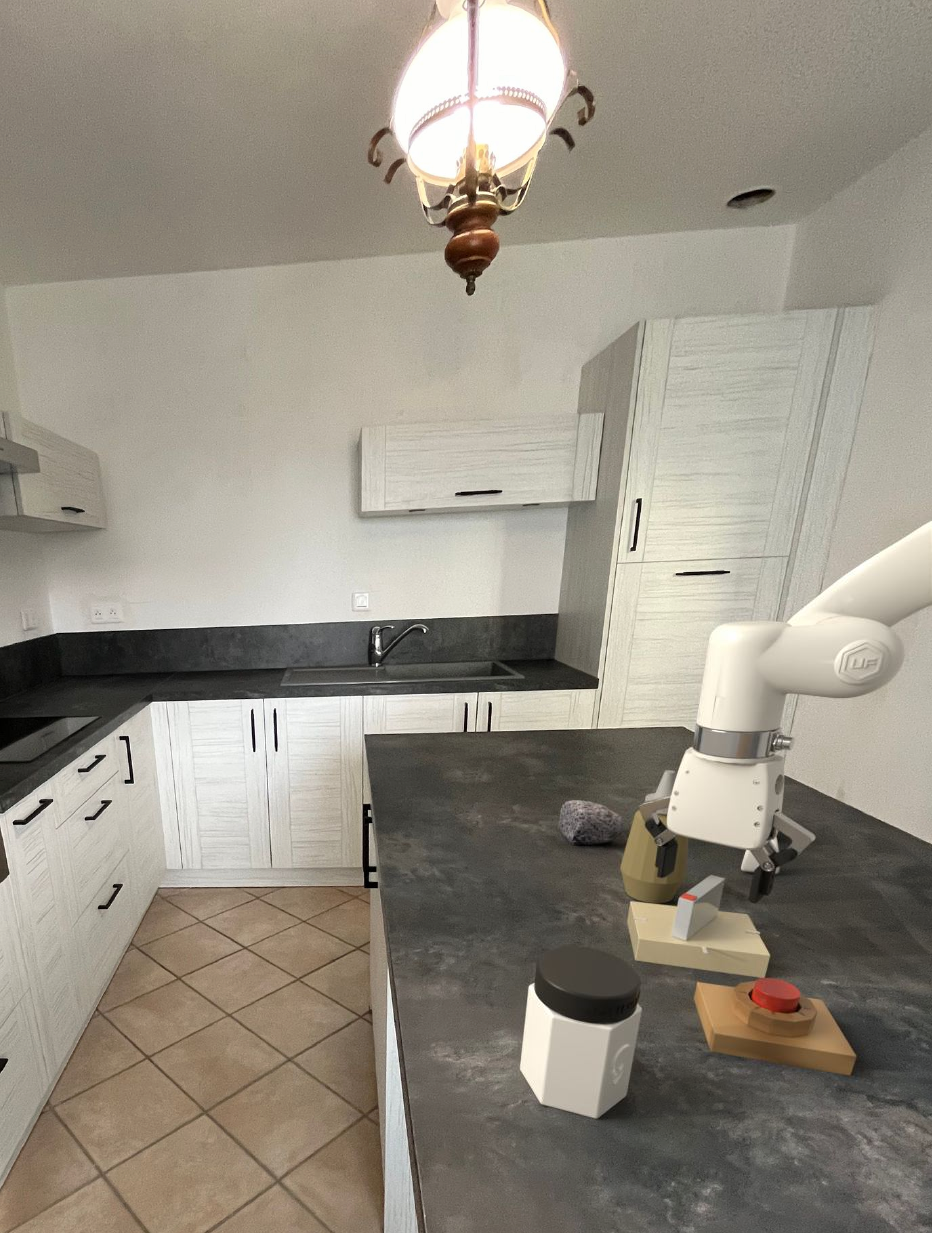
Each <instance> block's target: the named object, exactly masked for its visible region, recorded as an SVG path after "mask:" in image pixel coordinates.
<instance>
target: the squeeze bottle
mask: <svg viewBox="0 0 932 1233" xmlns="http://www.w3.org/2000/svg"><path fill="white" fill-rule="evenodd" d="M675 779H676V771H675V770H670V769H669V770H668V769H666V770H664V772H663V775H662V777H661V779H660V782H659V784H658V787H657V788H656V790H655V792H653V793H649V794H646V796H645V799H644V802H647V801H650V800H654V799H658V798H662V797H665V796H669V795H671V794H672V790H673V786H674V783H675ZM668 808H669V807H668ZM668 808H664V809H660V810H657V817H658V818H659V819H660V820H661V821H662V823H663V824H664V825H665V826H666V828H667V829H668V827H667V814H668ZM630 827H631V828H630V830H629V834H628V838H627V842H626V844H625V849H624V852H623V856H622V859H621V864H620V868H619V869H620V872H621V877H622V880H623V885H624V886H623V887H624V890H625V891H624V892H626V894H627V895H628V896H629V897H630V898H632V899H635V900H638V901H639V902H643V903H651V904H666V903H668V902H671V901H672V900H673V898H674V897H675V895H676V893H677V892H678V890H679V889H680V887H681V886H682V884H683V883H684V881H685V879H686V878H687V872H688V870H687V869H688V868H687V867H688V856H689V855H688V853H689V840H690V838H688V837H684V836H680V835H677V836H676V837H675V840H676V841H677V843H678V848H677V855H676V862H675V868H674V871H673V872H672V873H670V874H669V875H668V876H666V877H665V878H659V877H657V873H658V868H657V867H655V862H656V854H657V847H658V845H656V844H655V843H654V838H653V836H652V835H651V834H650V833H649V831H648V830H647V829H646V827H645V821H644V820H643V818H642V815H641V812H640V810H639V809H638V810H637V811H636V812H635V814H634V817H633V820H632V824H631V826H630Z"/></svg>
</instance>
